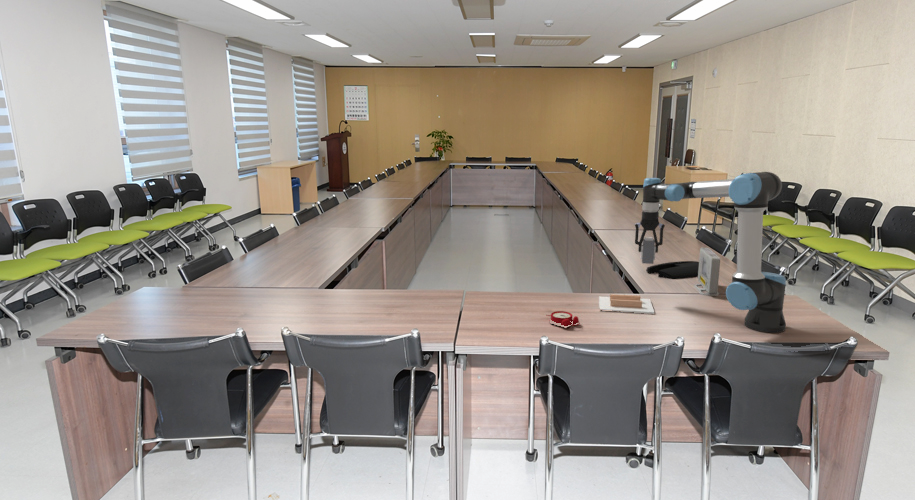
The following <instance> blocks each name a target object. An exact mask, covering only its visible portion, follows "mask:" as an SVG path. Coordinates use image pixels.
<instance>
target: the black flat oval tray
mask: <svg viewBox="0 0 915 500" xmlns="http://www.w3.org/2000/svg"><path fill="white" fill-rule="evenodd" d="M698 269H699V260H698V261H697V260H684V261H681V260H680V261H671V262H670V261H669V262H663V263H659V264H654V265H653V264H652V265H651V266H647V267H646V269H645V270H646V273H648V274H649V275H652V274H658V276H657V277H658V278H662V279H663V278H664V279H670V280H678V279H679V280H680V279H690V278H691V279H692V278H698Z"/></svg>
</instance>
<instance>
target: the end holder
mask: <svg viewBox="0 0 915 500" xmlns="http://www.w3.org/2000/svg"><path fill="white" fill-rule="evenodd" d="M599 308H600V309H602V310H612V311H622V312H621V313H623V312H634V313H633V314H641V313H644V315H645V314H646V315H655V309H654V307H653V304H652V301H651V299H650V298H641V295H636V294H635V295H632V294H614V293H613V294H612V293H610V294H609V296H600V295H599V296H598V309H599Z"/></svg>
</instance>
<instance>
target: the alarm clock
mask: <svg viewBox="0 0 915 500" xmlns="http://www.w3.org/2000/svg"><path fill="white" fill-rule="evenodd" d="M545 316H548V317H550V319H551V320H552V321H554V322H556V323H561V325H564V326H568V325H571V324H572V323H571V322H572V321H573V324H576V323H578V324H577V325H576V326H579V325H580V324H581V323H580V321H579V317H578V316H576V315H575V316H573V314H572V313H571V312H568V311H564V310H562V311H561V310H557V311H553V312H551V314H550V315H549V314H545ZM570 321H571V322H570ZM576 326H575V325H571V326H570V327H576Z"/></svg>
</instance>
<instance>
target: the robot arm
mask: <svg viewBox="0 0 915 500" xmlns="http://www.w3.org/2000/svg"><path fill="white" fill-rule="evenodd" d="M782 189H783V183H782V180H781V178H780V177H779V176H778V175H777V174H775V173H774V172H771V171H762V172H758V171H757V172H746V173H742V174H740V175H737V176H736V177H734V178H729V179H717V180H716V179H714V180H703V181H702V180H701V181H688V182H678V183H676V182H675V183H664V182H663V183H662V179H661V178H658V177H646V178H644V179H643V186H642V193H643V194H642V204H641V205H642V207H641V209H642V211H641V220H640V222H635V223H634V226H635V236H634V244H635V245H638V252H639V253H640V256H639V257H640V260H642V257H643V239H645V237H646V233H647V231H650V232H652V235H653V236H652V237H653V239H654V241H655V246H654V261H655V260H656V253H657V254H658V252H659V247H660V246H662V245H663V242H664V241H663V240H664V229H665V224H664V223H660V221H659V217H660V215H659V214H660V212H659V211H660V200H662V201H668V202H669V201H670V202H680V201H682V200H686V199H688V200H689V199H704V198H705V199H707V198H709V199H710V198H730V199H731V201H732V202H733V203H734V206H733V207H734V209H735V210H736V211H737V212H738V214H737V216H738V217H737V243H736V244H737V246H736V248H737V250H736V251H737V252H736V271H734V272H733V274H732V275H731V277H732V279H731V280H732V281H731V282H730V284H728V286H727V287H726V288H725V289H726V290H725V296H726V297H725V298H726V299H727V301H728V303H730V305H731V306H732V307H734V308H735V309H737V310H741V311H747V310H748V311H747V314H746V315H745V317H744V321H743V322H744V326H746V327H747V328H748V329H751V330H753V331H757V332H761V333H762V332H763V333H769V334H771V333H773V334H774V333H782V332H784V331H786V329H787V328H786V327H787V323H786V320H785V315H784V312H783V310H784V304H785V303H784V302H785V294H786V293H785V292H786V287H787V284H786V283H787V278H786V277H785V276H784V275H783V274H780V273H773V272H769V271H762V258H763V257H762V254H763V251H762V250H763V231H764V230H763V229H764V228H763V225H764V224H763V223H764V211H766V210H767V209H768V208H769V201H771V200H774V199H775V198H777V196H779V195H780V193H781V191H782ZM640 227H642V228H643V229H642V233H641V236H640V239H639V231H640V229H639V228H640ZM658 227H659V241H658V238H657V237H658V236H657V233H656V229H657V228H658Z"/></svg>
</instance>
